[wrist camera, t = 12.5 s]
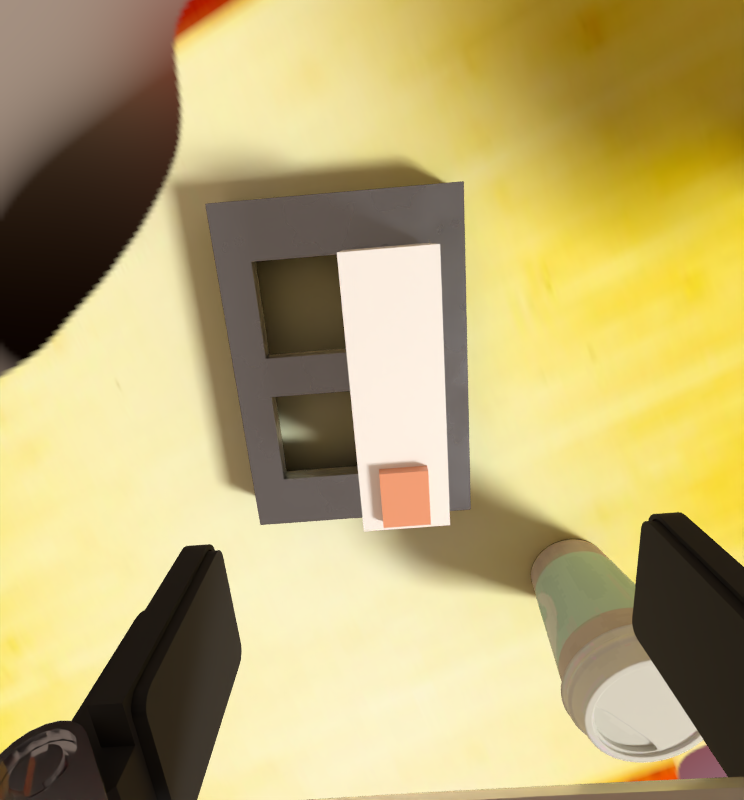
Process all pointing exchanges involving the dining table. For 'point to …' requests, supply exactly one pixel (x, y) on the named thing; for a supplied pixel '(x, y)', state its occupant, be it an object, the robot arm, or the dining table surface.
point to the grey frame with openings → (328, 369)
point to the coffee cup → (606, 657)
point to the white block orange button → (397, 383)
